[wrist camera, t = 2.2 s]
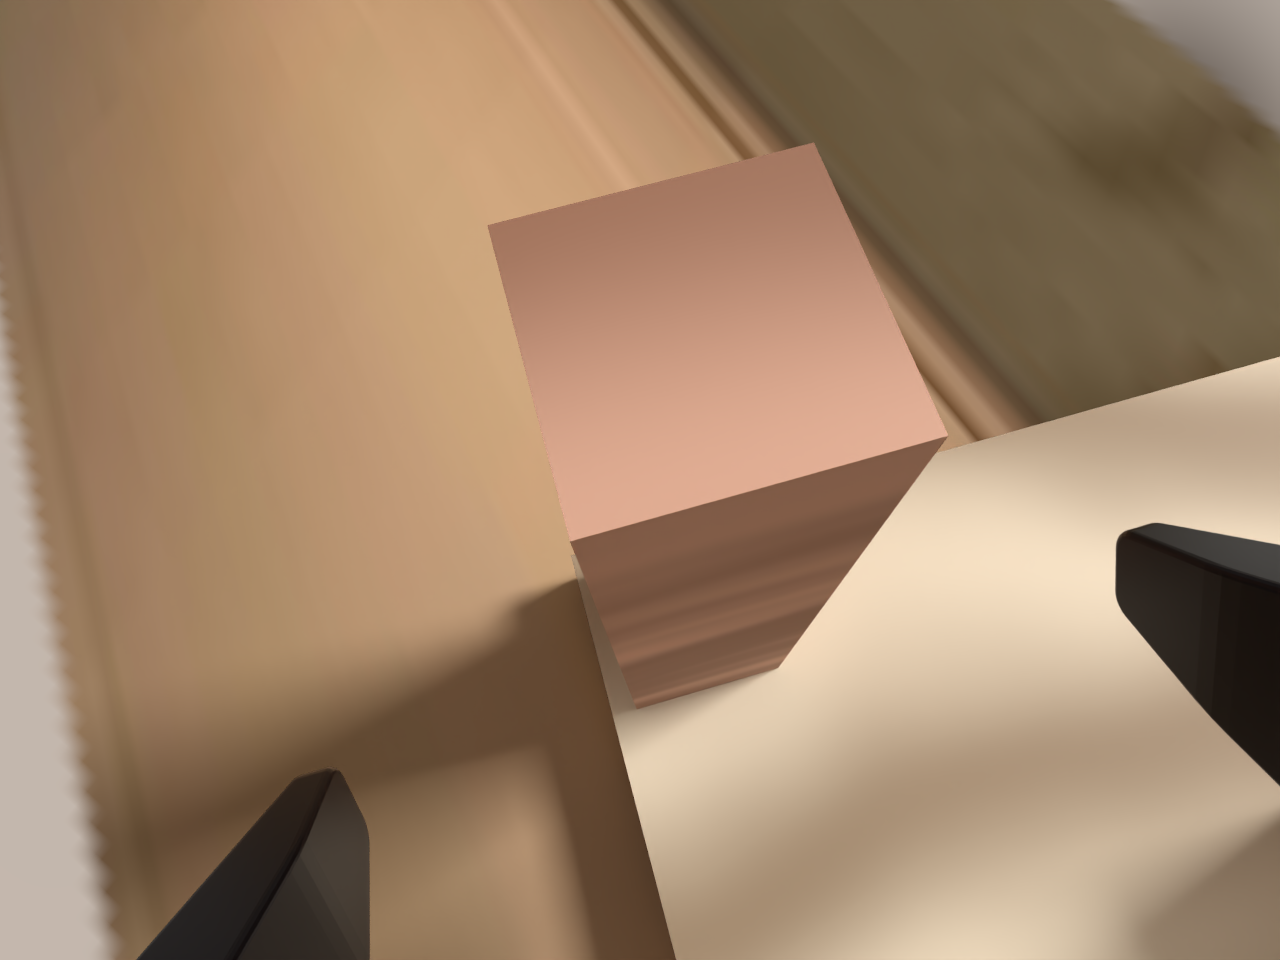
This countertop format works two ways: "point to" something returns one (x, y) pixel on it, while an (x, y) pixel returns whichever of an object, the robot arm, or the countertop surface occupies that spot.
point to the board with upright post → (880, 602)
